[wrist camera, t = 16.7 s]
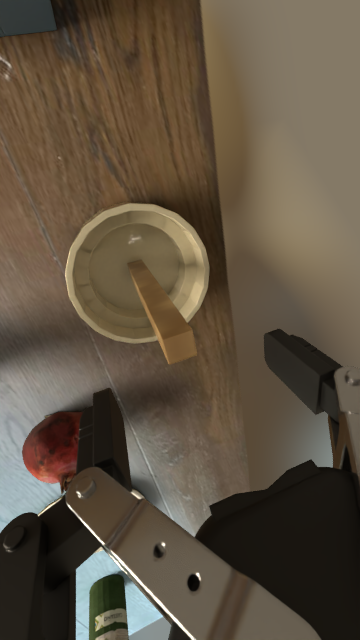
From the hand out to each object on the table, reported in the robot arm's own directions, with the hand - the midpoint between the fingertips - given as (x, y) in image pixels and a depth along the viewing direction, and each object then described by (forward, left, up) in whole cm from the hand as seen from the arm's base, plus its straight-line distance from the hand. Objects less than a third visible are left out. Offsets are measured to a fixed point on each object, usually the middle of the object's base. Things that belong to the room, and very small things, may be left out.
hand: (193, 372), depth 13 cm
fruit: (+22, +12, -21) cm, 33 cm away
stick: (0, 0, -20) cm, 20 cm away
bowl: (0, 0, -21) cm, 21 cm away
